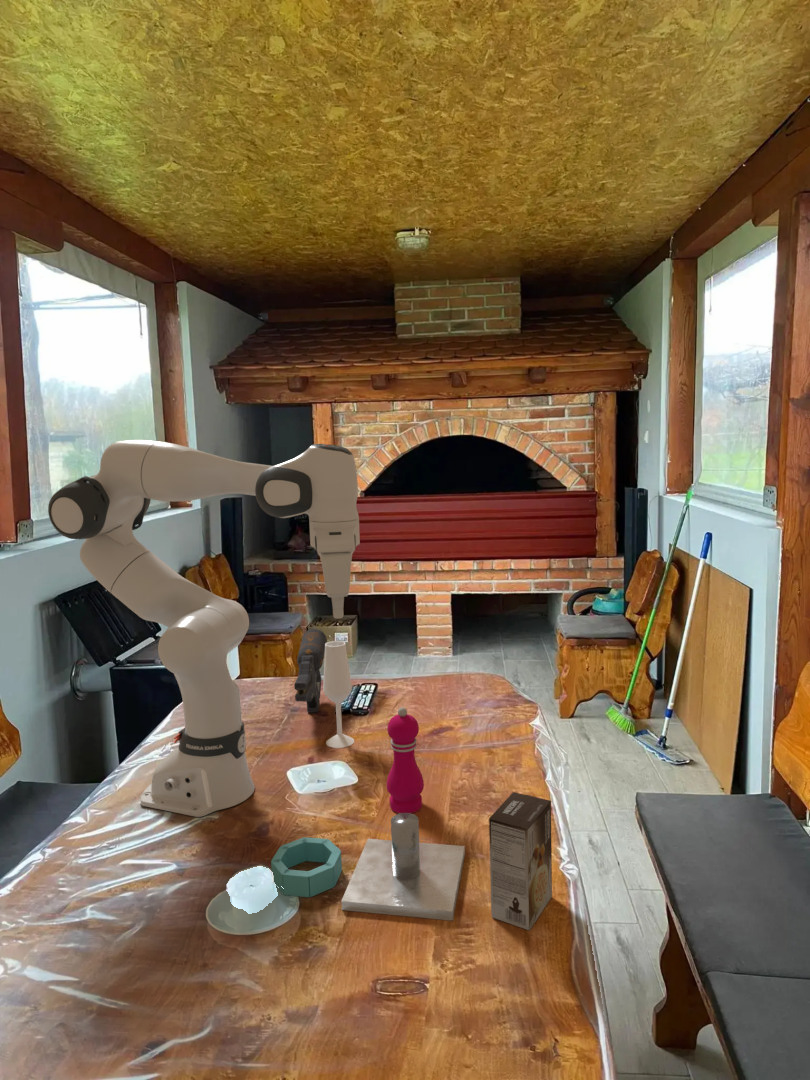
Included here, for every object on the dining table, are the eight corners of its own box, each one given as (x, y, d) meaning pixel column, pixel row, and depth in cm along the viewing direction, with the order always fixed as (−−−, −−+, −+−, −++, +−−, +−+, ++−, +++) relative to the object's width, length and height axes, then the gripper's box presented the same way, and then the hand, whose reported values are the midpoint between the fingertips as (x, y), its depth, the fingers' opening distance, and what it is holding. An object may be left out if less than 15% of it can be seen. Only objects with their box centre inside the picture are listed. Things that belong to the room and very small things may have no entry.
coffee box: (514, 884, 113) (513, 789, 111) (553, 896, 109) (552, 799, 107) (489, 918, 105) (487, 817, 103) (530, 932, 102) (529, 828, 99)
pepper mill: (420, 817, 134) (417, 715, 131) (383, 814, 135) (379, 714, 132) (427, 797, 141) (424, 701, 138) (391, 795, 142) (388, 699, 139)
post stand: (341, 910, 108) (338, 846, 107) (368, 846, 125) (365, 790, 123) (452, 920, 105) (450, 855, 103) (464, 854, 121) (463, 796, 120)
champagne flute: (359, 742, 167) (355, 644, 164) (334, 750, 164) (329, 649, 160) (345, 733, 173) (340, 638, 169) (320, 740, 169) (315, 643, 166)
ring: (264, 893, 113) (263, 872, 112) (288, 854, 123) (286, 835, 123) (328, 899, 111) (327, 878, 110) (347, 859, 121) (346, 840, 121)
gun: (331, 695, 199) (327, 625, 196) (317, 737, 171) (312, 657, 168) (306, 695, 199) (302, 626, 196) (289, 738, 171) (284, 658, 168)
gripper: (317, 528, 137) (320, 599, 139) (316, 544, 116) (320, 626, 118) (350, 527, 137) (352, 597, 139) (355, 542, 117) (357, 624, 119)
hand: (337, 611), depth 129 cm, fingers open, 8 cm apart
